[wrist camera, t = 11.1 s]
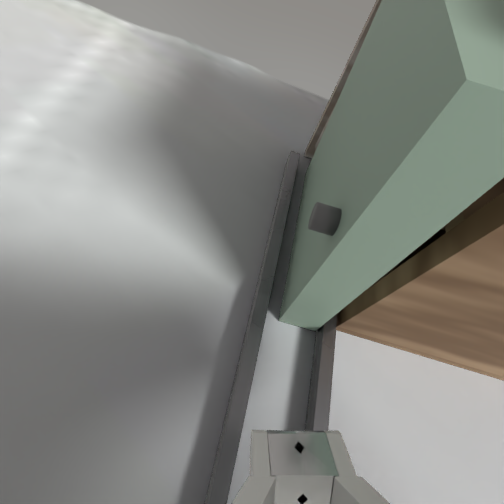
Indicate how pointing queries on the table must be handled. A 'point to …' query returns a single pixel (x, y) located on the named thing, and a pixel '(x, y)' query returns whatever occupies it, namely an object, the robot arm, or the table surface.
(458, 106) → the cabinet door
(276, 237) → the door track
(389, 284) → the walnut cabinet
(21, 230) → the table surface
